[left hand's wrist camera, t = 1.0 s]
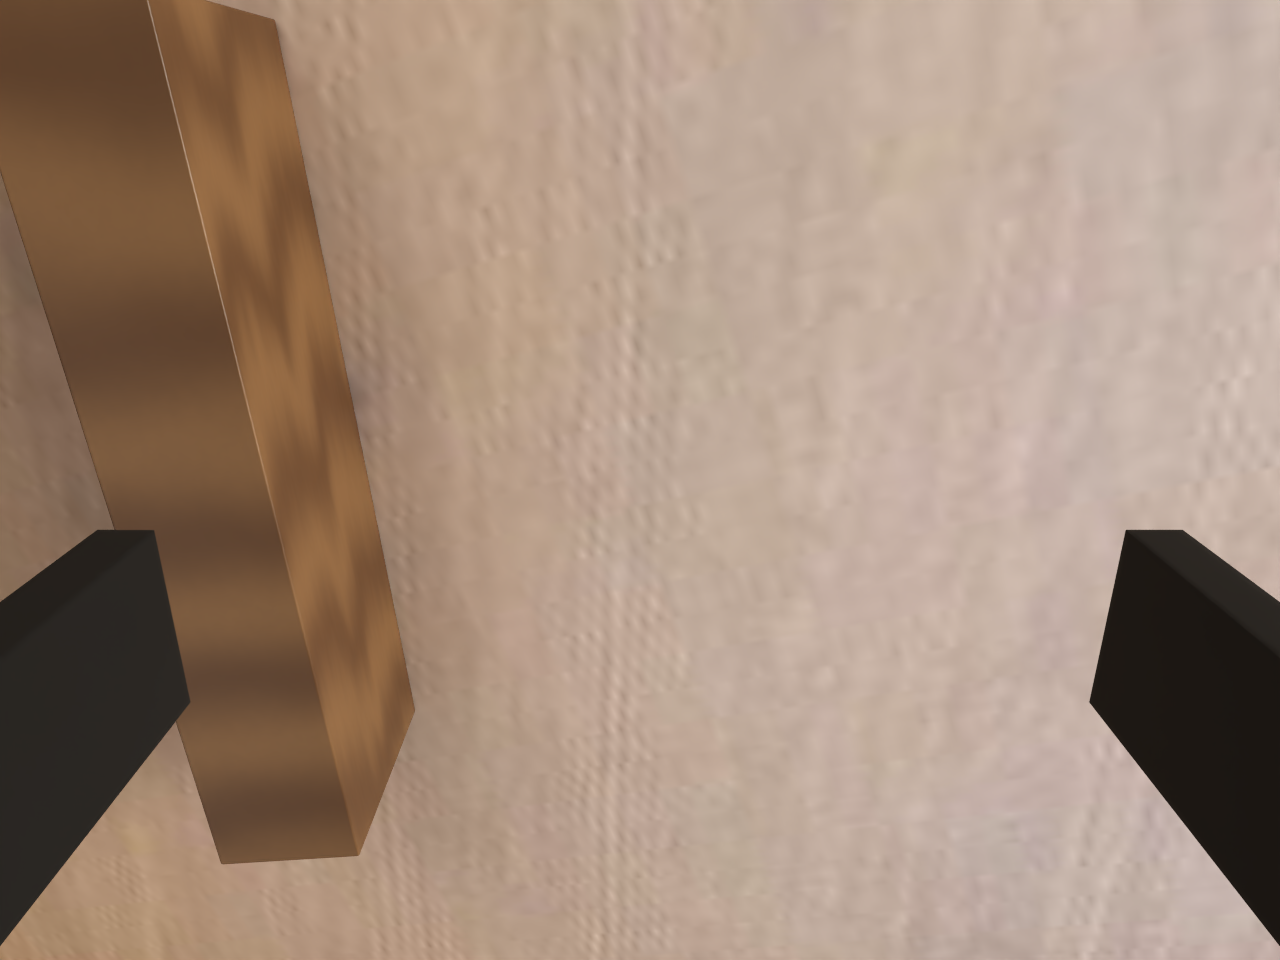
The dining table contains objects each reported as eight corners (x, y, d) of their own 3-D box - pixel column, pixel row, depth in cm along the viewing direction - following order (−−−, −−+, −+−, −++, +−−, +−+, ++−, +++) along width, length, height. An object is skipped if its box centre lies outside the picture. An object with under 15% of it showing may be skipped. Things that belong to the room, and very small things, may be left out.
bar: (127, 32, 28) (-56, 0, 21) (275, 19, 28) (143, -19, 21) (304, 718, 37) (221, 865, 30) (415, 710, 37) (359, 856, 30)
